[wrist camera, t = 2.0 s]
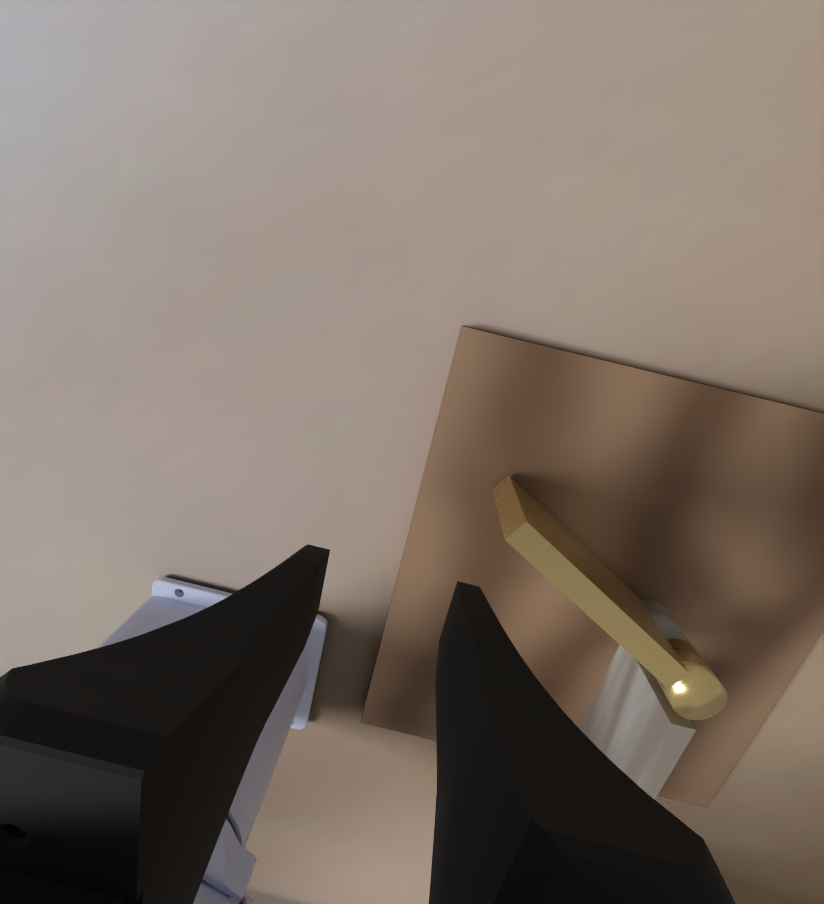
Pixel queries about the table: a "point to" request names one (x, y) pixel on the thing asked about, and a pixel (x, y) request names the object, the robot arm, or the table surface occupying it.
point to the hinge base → (617, 548)
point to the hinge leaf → (608, 602)
